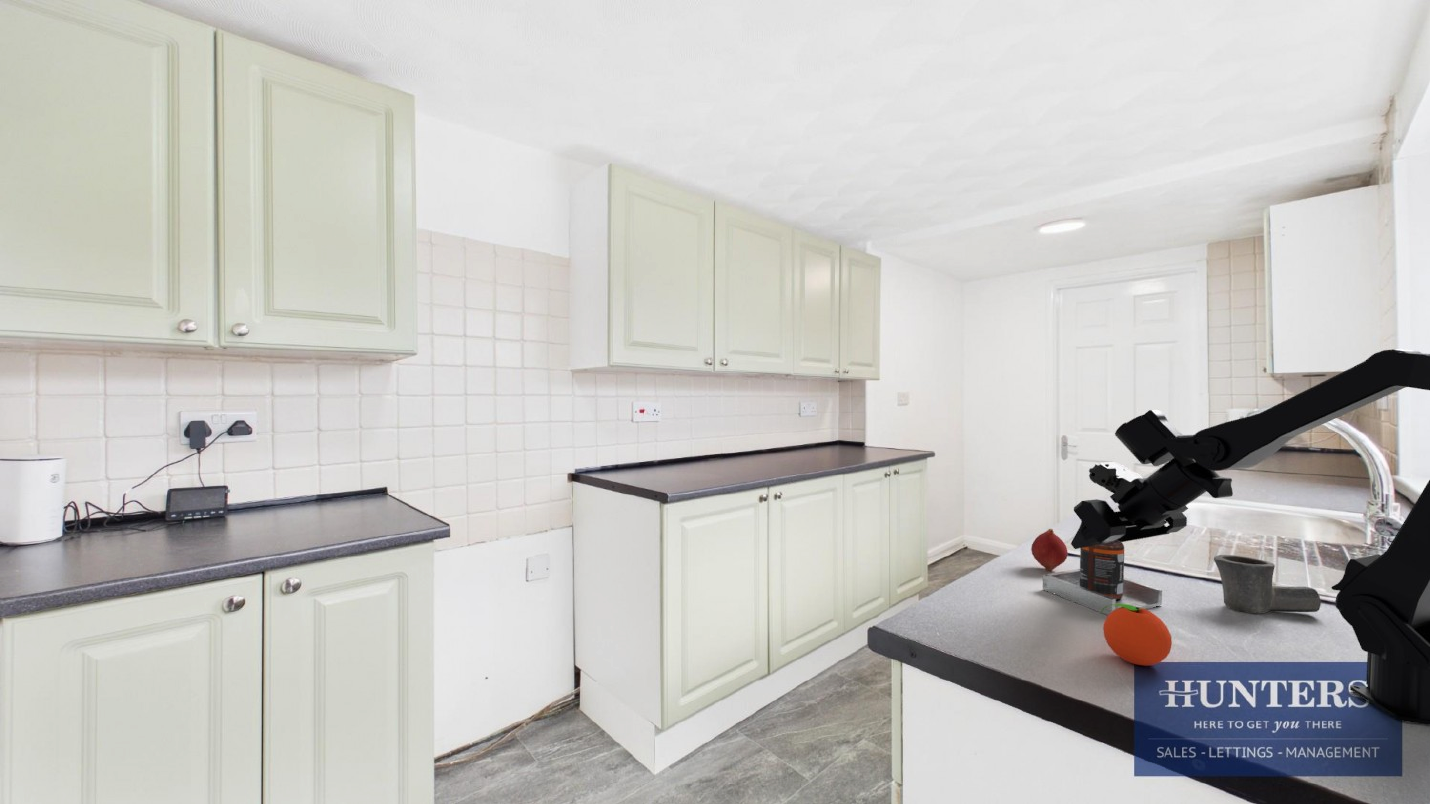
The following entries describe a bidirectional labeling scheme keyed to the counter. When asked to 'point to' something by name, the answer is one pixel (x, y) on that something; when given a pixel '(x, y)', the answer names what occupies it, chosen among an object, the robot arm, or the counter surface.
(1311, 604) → the pipe
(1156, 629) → the clementine
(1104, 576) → the supplement bottle
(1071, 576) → the aluminium tray
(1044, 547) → the onion
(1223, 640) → the counter surface
